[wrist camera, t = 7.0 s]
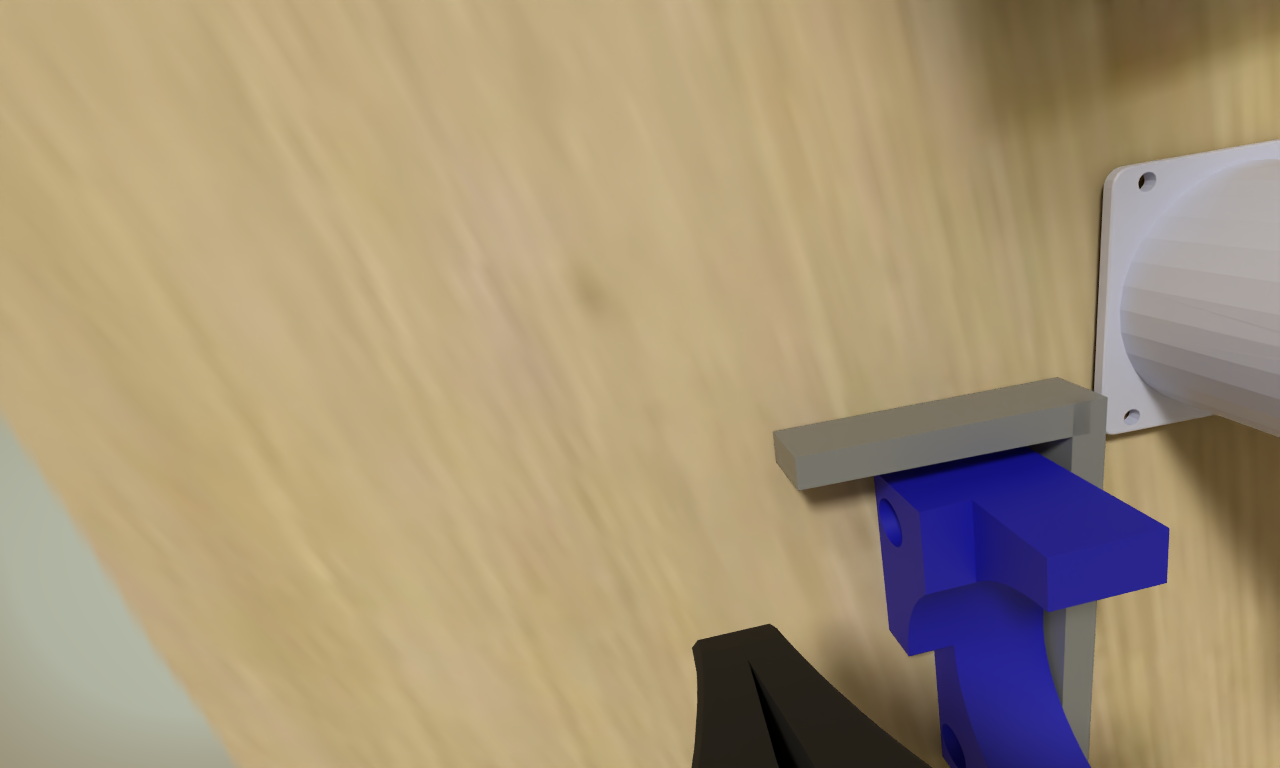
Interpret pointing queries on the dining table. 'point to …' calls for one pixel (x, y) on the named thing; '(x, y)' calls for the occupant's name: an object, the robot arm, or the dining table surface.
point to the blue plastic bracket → (1004, 590)
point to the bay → (964, 427)
